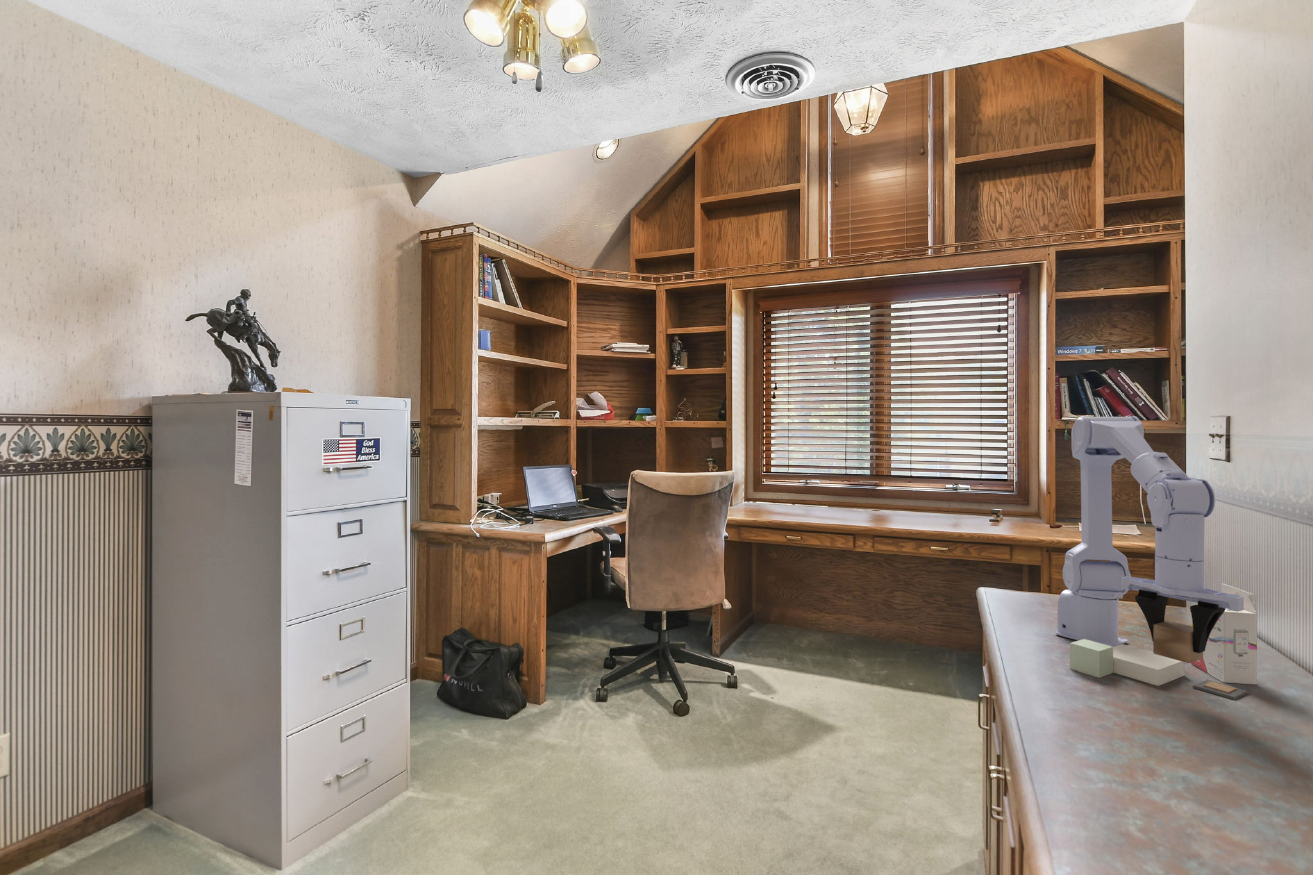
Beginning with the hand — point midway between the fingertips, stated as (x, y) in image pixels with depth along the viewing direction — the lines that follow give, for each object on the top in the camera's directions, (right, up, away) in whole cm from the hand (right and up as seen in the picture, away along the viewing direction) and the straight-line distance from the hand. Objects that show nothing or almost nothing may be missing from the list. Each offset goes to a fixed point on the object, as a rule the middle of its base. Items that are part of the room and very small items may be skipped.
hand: (1178, 646), depth 94 cm
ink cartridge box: (+15, -8, +9) cm, 20 cm away
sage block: (-6, -8, +10) cm, 14 cm away
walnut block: (0, -2, 0) cm, 2 cm away
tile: (+9, -8, +3) cm, 12 cm away
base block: (+2, -8, +10) cm, 13 cm away
